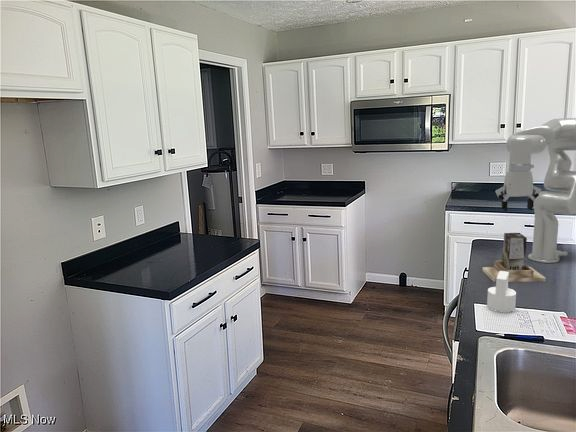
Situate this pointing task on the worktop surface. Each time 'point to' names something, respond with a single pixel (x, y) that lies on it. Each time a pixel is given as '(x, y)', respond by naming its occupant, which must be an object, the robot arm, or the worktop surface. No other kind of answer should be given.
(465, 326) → the worktop surface
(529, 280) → the holder
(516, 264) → the coffee box
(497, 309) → the cylinder with rectangular tab
